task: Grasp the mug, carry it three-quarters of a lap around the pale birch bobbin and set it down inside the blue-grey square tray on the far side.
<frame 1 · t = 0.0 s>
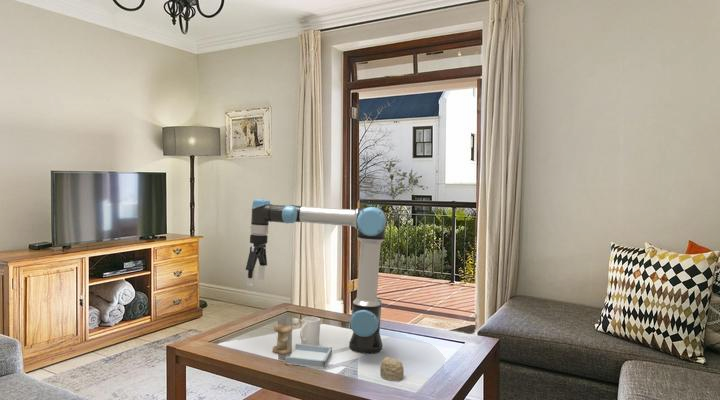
hand: (255, 282, 196), 28 cm above the table, fingers open, 13 cm apart
bobbin: (281, 351, 193), on the table
sponge: (391, 377, 174), on the table
mug: (307, 346, 202), on the table
blue-grey square tray: (308, 359, 186), on the table
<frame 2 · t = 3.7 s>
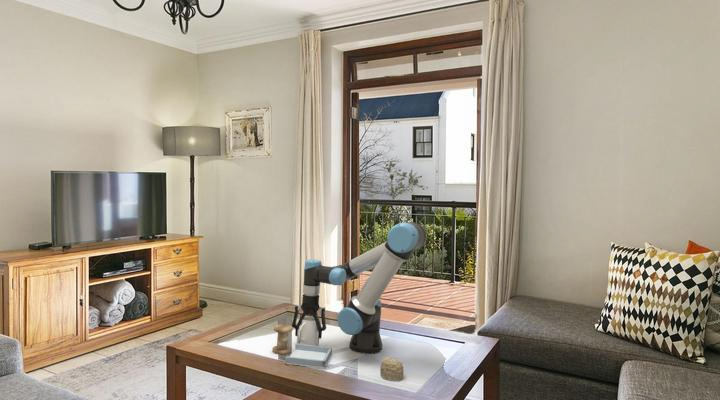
hand: (307, 344, 202), 1 cm above the table, fingers closed on mug, 8 cm apart
mug: (306, 346, 202), on the table, touching gripper
everything else where it was.
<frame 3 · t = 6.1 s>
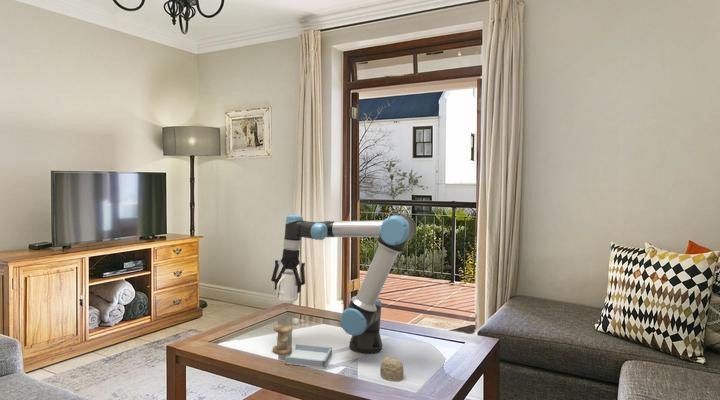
hand: (286, 298, 204), 20 cm above the table, fingers closed on mug, 8 cm apart
mug: (284, 300, 204), point 19 cm above the table, touching gripper
everything else where it was.
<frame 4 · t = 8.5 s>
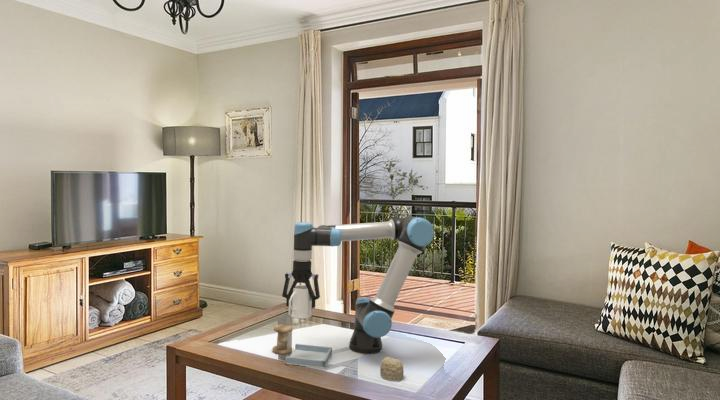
hand: (300, 315, 185), 18 cm above the table, fingers closed on mug, 8 cm apart
mug: (298, 317, 185), point 17 cm above the table, touching gripper
everything else where it was.
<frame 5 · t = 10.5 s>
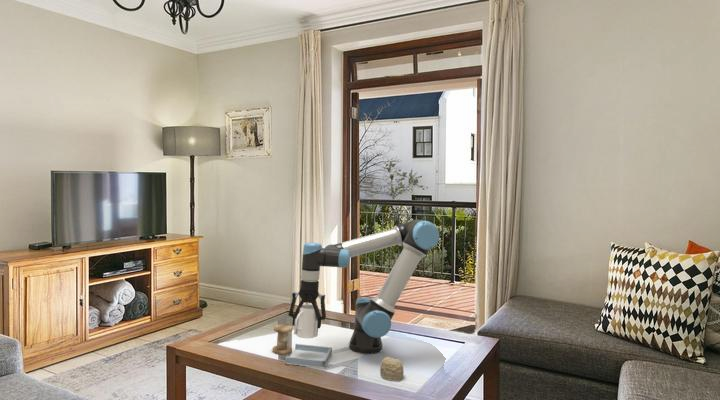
hand: (305, 334, 186), 10 cm above the table, fingers closed on mug, 8 cm apart
mug: (303, 336, 186), point 9 cm above the table, touching gripper
everything else where it was.
when the fingers open (4 cm above the table, at t = 12.2 s): mug drops 2 cm, resting on blue-grey square tray.
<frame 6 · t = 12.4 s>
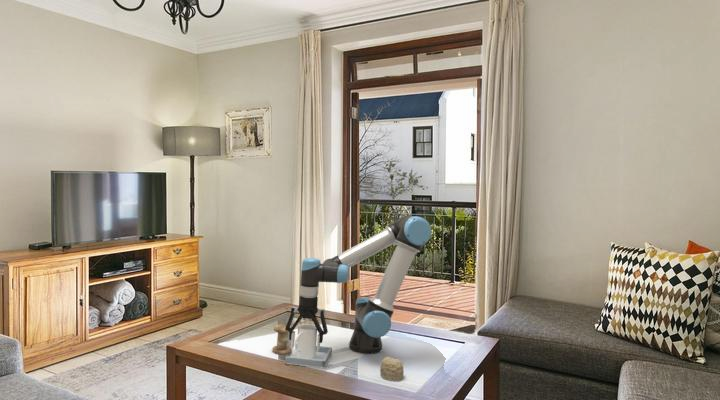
hand: (305, 349, 186), 4 cm above the table, fingers open, 10 cm apart
mug: (303, 357, 186), point 1 cm above the table, touching blue-grey square tray
everything else where it was.
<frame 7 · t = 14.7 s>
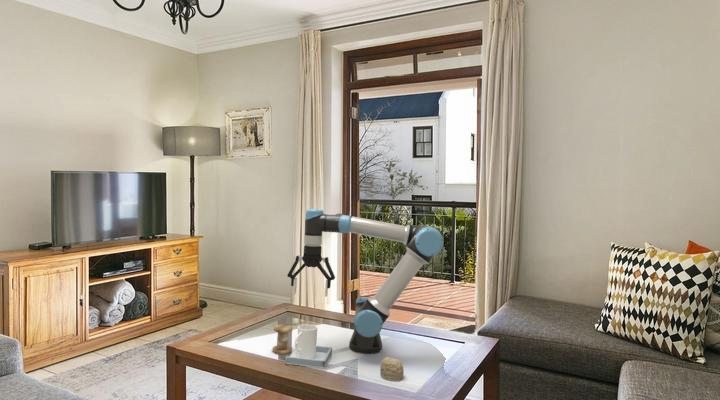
hand: (310, 294, 191), 25 cm above the table, fingers open, 13 cm apart
nothing on the table moved.
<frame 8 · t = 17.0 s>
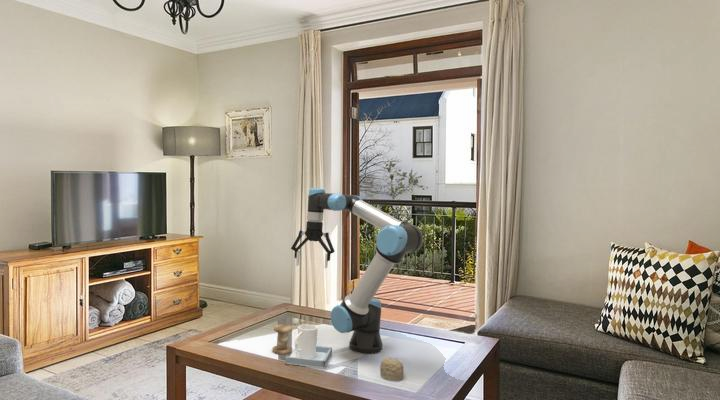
hand: (311, 266, 209), 35 cm above the table, fingers open, 13 cm apart
nothing on the table moved.
at the end: mug inside the target area on the blue-grey square tray (1.5 cm from its centre), point 0.6 cm above the blue-grey square tray's base; mug tilted 0°; the gripper is holding nothing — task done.
